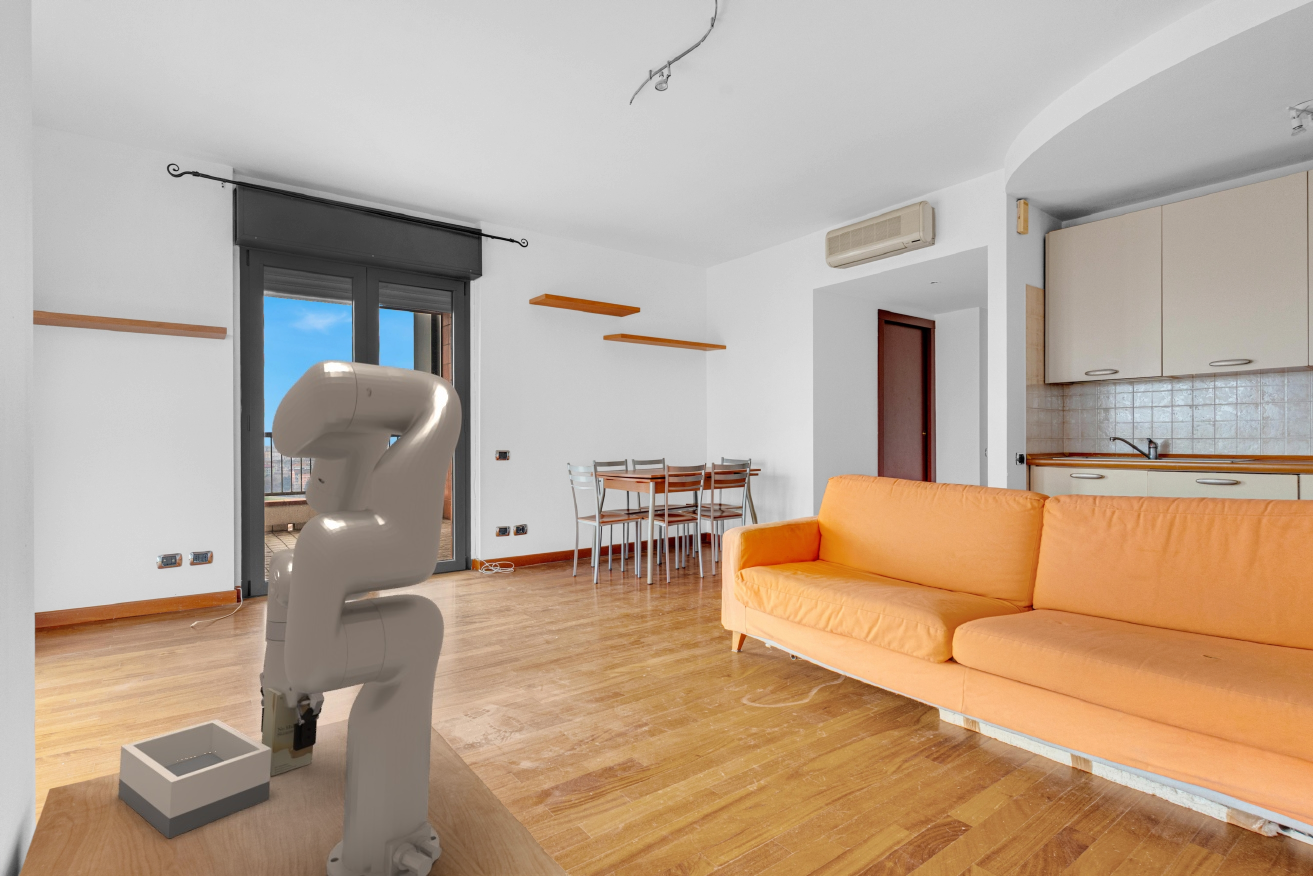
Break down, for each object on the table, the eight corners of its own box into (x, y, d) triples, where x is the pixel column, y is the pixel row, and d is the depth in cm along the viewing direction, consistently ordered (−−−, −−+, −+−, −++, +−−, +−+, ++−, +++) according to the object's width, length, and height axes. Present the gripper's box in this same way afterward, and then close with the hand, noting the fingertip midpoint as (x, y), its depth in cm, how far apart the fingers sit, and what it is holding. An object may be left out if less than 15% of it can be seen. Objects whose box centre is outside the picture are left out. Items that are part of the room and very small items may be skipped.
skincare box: (270, 778, 97) (275, 695, 98) (258, 768, 100) (262, 688, 100) (314, 762, 103) (318, 684, 103) (302, 754, 105) (305, 678, 106)
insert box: (268, 799, 91) (271, 748, 92) (168, 839, 81) (171, 782, 82) (214, 764, 101) (216, 719, 101) (118, 796, 91) (121, 746, 91)
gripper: (347, 633, 100) (341, 745, 100) (289, 615, 110) (284, 717, 110) (298, 644, 94) (292, 764, 94) (241, 623, 104) (235, 732, 103)
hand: (287, 738), depth 102 cm, fingers open, 9 cm apart
